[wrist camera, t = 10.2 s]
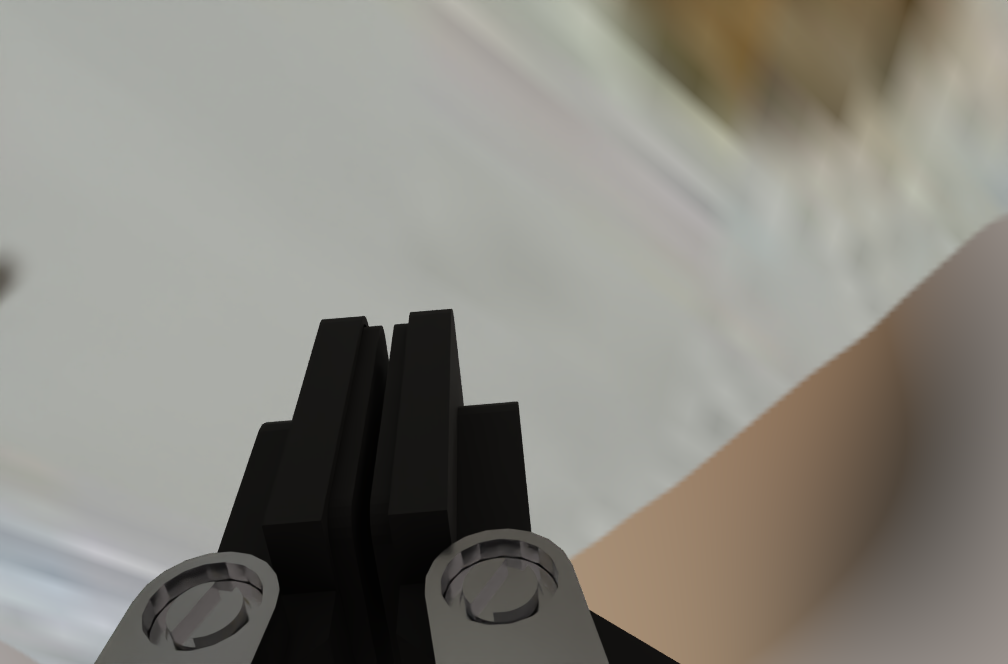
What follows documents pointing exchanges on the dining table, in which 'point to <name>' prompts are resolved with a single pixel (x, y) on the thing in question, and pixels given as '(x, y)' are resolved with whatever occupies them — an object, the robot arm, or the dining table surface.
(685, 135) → the dining table surface
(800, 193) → the dining table surface
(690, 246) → the dining table surface
